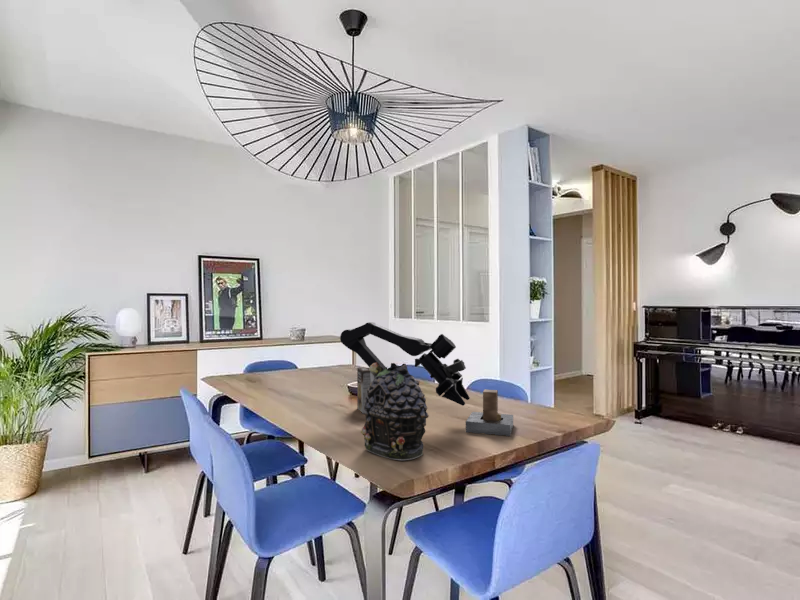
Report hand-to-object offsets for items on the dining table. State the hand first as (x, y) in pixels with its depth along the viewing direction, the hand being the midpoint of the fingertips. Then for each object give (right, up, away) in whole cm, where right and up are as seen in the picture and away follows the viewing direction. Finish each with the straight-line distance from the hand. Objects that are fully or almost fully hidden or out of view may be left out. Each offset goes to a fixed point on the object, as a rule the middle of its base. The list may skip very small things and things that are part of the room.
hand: (466, 401), depth 152 cm
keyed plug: (+7, -8, -3) cm, 12 cm away
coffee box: (-35, -9, +22) cm, 43 cm away
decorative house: (-24, -8, -27) cm, 37 cm away
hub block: (+7, -8, -3) cm, 11 cm away
